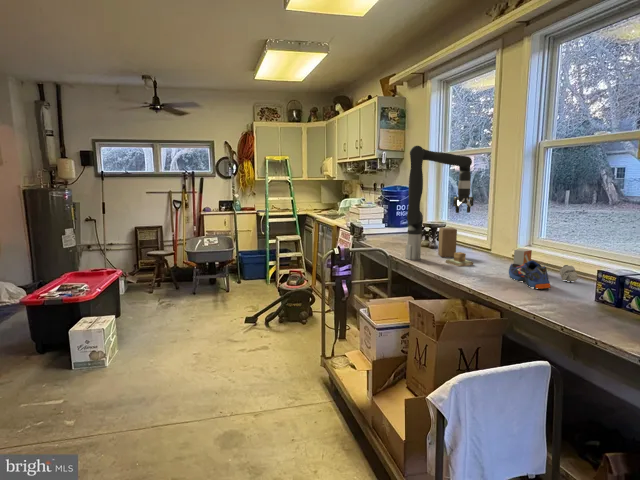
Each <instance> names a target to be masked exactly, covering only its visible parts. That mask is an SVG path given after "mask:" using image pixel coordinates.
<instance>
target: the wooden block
mask: <svg viewBox="0 0 640 480" xmlns="http://www.w3.org/2000/svg"><path fill="white" fill-rule="evenodd" d="M457 234H458V230H457V228H454V227H439V230H438V247H437V248H438V249H437V252H438V253H437V254H438V256H440V257H441V258H454V253H457V236H458V235H457Z"/></svg>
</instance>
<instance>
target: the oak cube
mask: <svg viewBox="0 0 640 480" xmlns="http://www.w3.org/2000/svg"><path fill="white" fill-rule="evenodd" d="M466 256H467V254H466V253H465V252H461V251H460V252H459V251H458V252H457V251H456V253H454V257H453V259H454V261H458V262H462V261H465V260H466Z"/></svg>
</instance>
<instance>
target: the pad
mask: <svg viewBox="0 0 640 480" xmlns="http://www.w3.org/2000/svg"><path fill="white" fill-rule="evenodd" d="M445 263H446V264H449V265H452V266H456V267H466V266H474V262H473V261H471V260H467V259H465V261H462V262H458V261H454V258H452V259H451V258H450V259H446V260H445Z"/></svg>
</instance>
